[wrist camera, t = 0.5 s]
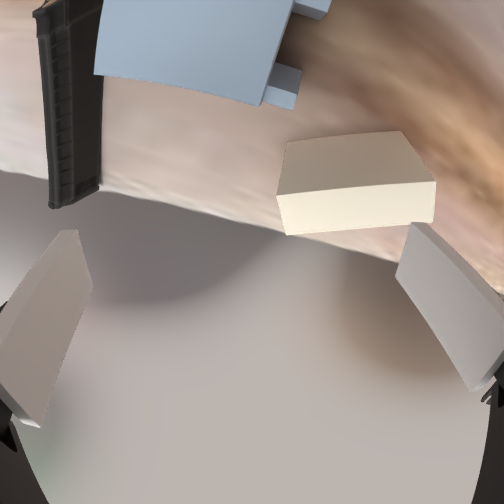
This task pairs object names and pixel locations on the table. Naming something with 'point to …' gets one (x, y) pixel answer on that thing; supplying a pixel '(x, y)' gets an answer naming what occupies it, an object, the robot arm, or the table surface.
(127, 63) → the housing
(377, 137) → the tile
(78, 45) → the magazine
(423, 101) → the table surface
